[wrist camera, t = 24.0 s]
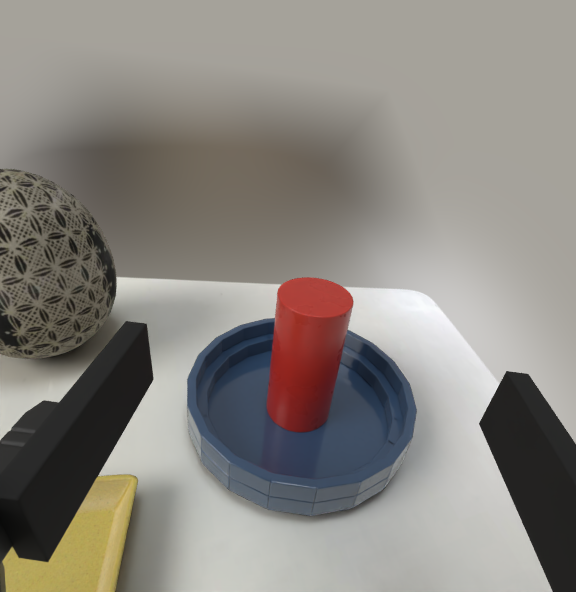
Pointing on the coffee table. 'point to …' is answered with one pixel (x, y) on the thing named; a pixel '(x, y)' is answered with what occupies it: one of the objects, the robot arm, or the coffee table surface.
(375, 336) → the coffee table surface
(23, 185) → the decorative egg
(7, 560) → the saucer
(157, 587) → the coffee table surface
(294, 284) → the cylinder
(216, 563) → the coffee table surface
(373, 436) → the dish
